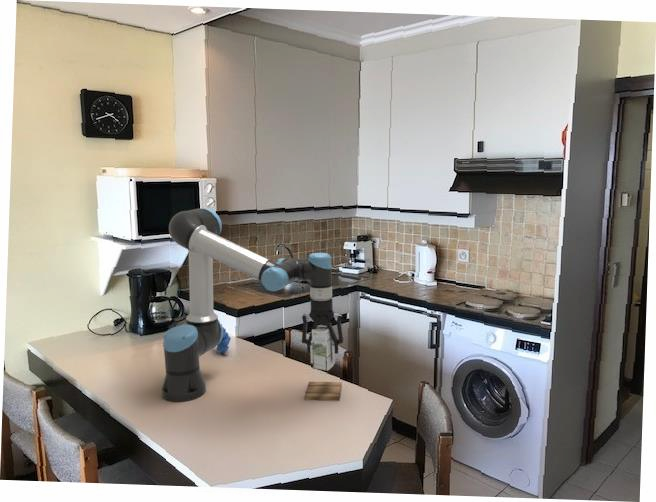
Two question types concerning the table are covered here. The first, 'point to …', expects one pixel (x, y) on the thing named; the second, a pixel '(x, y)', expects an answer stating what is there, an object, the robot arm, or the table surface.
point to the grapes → (224, 342)
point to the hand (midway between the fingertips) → (323, 361)
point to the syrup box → (322, 348)
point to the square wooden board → (323, 391)
